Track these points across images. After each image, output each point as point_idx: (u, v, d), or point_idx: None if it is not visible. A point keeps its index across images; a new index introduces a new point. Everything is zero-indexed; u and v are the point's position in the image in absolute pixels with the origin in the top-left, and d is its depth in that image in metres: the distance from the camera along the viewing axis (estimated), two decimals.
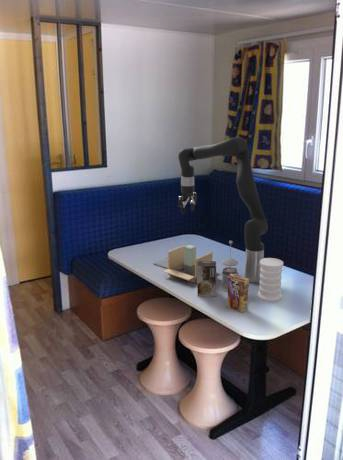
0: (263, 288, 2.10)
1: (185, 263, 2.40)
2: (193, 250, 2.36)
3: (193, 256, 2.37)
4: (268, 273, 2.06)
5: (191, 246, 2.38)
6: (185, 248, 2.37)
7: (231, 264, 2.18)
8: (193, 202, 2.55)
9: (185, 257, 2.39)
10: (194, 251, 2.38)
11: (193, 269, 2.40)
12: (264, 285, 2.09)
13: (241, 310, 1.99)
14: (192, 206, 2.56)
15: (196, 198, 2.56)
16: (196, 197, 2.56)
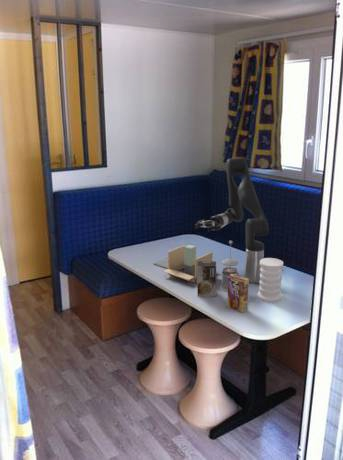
0: (263, 288, 2.10)
1: (185, 263, 2.40)
2: (193, 250, 2.36)
3: (193, 256, 2.37)
4: (268, 273, 2.06)
5: (191, 246, 2.38)
6: (185, 248, 2.37)
7: (231, 264, 2.18)
8: (213, 224, 2.43)
9: (185, 257, 2.39)
10: (194, 251, 2.38)
11: (193, 269, 2.40)
12: (264, 285, 2.09)
13: (241, 310, 1.99)
14: None
15: (219, 225, 2.43)
16: (219, 224, 2.43)
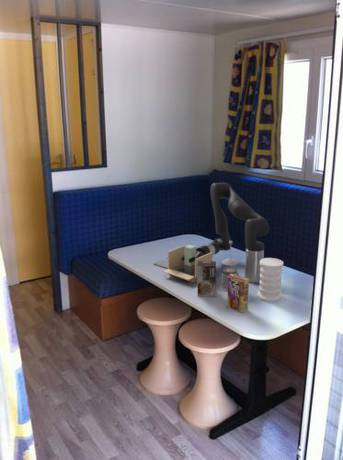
0: (263, 288, 2.10)
1: (185, 263, 2.40)
2: (193, 250, 2.36)
3: (193, 256, 2.37)
4: (268, 273, 2.06)
5: (191, 246, 2.38)
6: (185, 248, 2.37)
7: (231, 264, 2.18)
8: None
9: (185, 257, 2.39)
10: (194, 251, 2.37)
11: (193, 269, 2.40)
12: (264, 285, 2.09)
13: (241, 310, 1.99)
14: None
15: None
16: None
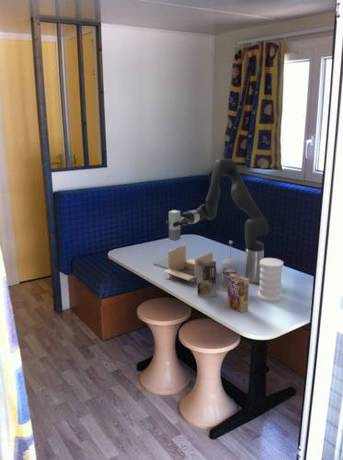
0: (263, 288, 2.10)
1: (170, 228, 2.46)
2: (177, 215, 2.42)
3: (177, 221, 2.43)
4: (268, 273, 2.06)
5: (175, 211, 2.44)
6: (169, 213, 2.43)
7: (231, 264, 2.18)
8: None
9: (169, 222, 2.45)
10: (178, 216, 2.43)
11: (177, 234, 2.46)
12: (264, 285, 2.09)
13: (241, 310, 1.99)
14: None
15: (185, 221, 2.44)
16: (186, 221, 2.44)
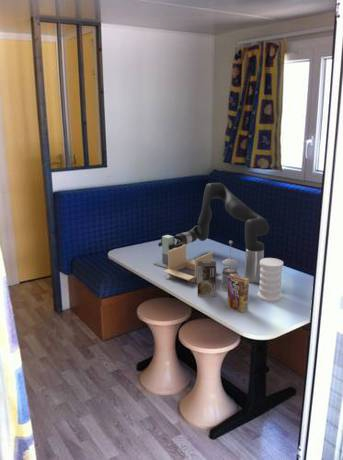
0: (263, 288, 2.10)
1: (163, 252, 2.55)
2: (170, 239, 2.52)
3: None
4: (268, 273, 2.06)
5: (168, 236, 2.53)
6: (163, 238, 2.53)
7: (231, 264, 2.18)
8: (174, 243, 2.54)
9: (163, 246, 2.54)
10: (171, 241, 2.53)
11: None
12: (264, 285, 2.09)
13: (241, 310, 1.99)
14: None
15: (180, 243, 2.53)
16: (181, 243, 2.53)
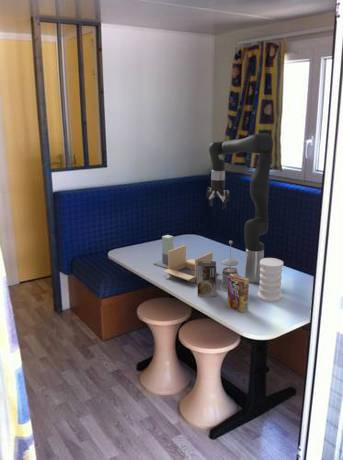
0: (263, 288, 2.10)
1: (163, 252, 2.55)
2: (170, 240, 2.52)
3: (170, 245, 2.53)
4: (268, 273, 2.06)
5: (168, 236, 2.53)
6: (163, 238, 2.53)
7: (231, 264, 2.18)
8: None
9: (163, 246, 2.54)
10: (171, 241, 2.53)
11: None
12: (264, 285, 2.09)
13: (241, 310, 1.99)
14: None
15: (226, 196, 2.43)
16: (226, 195, 2.42)
